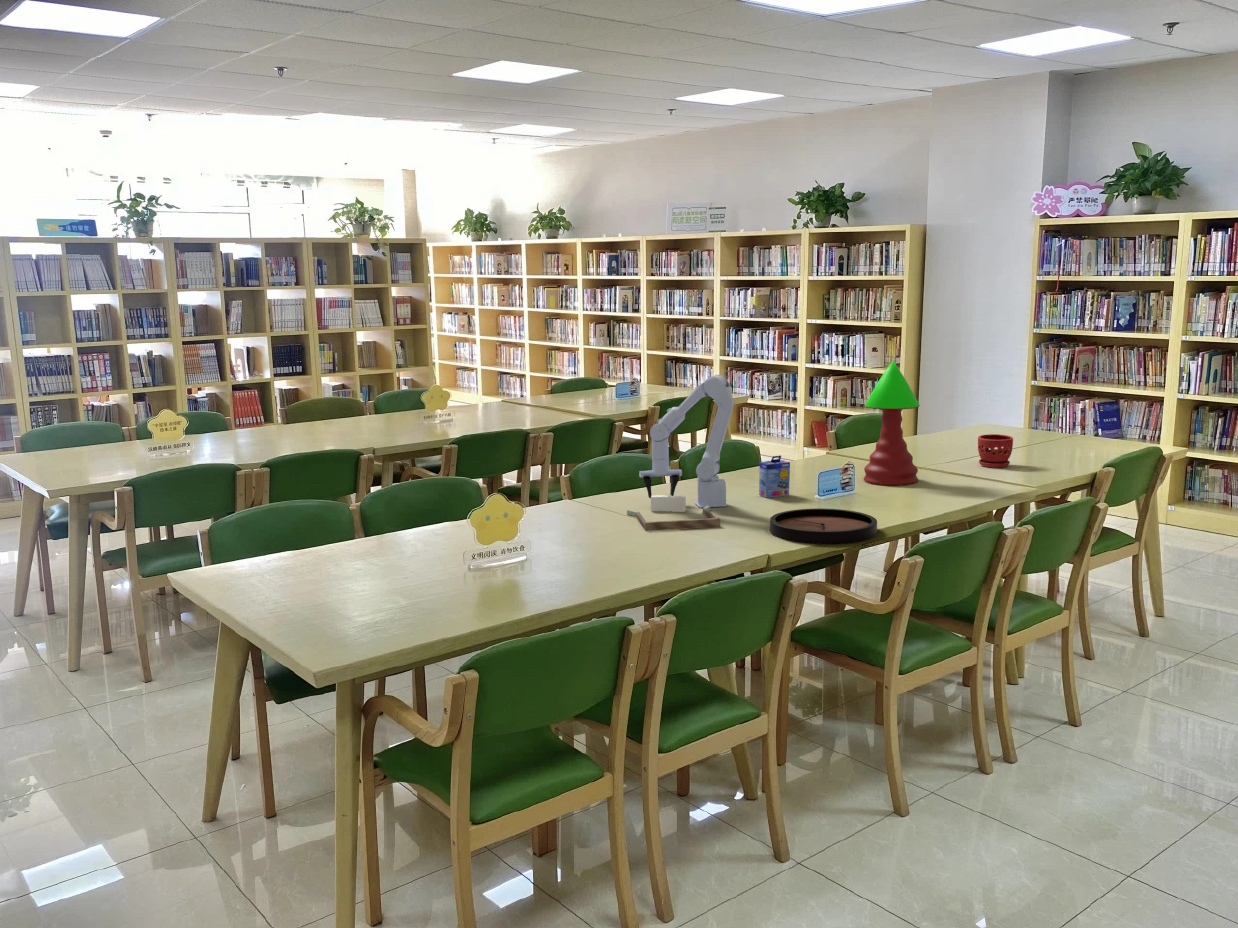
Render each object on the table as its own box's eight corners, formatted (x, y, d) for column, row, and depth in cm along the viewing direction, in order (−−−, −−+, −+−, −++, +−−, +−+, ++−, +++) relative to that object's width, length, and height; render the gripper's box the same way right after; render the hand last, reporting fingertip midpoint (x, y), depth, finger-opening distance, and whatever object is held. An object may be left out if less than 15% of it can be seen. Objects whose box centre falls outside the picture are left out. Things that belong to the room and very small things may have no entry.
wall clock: (899, 524, 292) (804, 536, 281) (898, 538, 293) (804, 550, 282) (839, 504, 321) (751, 514, 310) (838, 517, 322) (751, 527, 311)
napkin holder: (641, 512, 336) (641, 495, 336) (663, 506, 345) (663, 490, 344) (676, 518, 326) (675, 501, 325) (697, 512, 334) (697, 495, 334)
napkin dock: (710, 509, 335) (710, 502, 335) (727, 526, 311) (727, 518, 311) (626, 514, 332) (626, 506, 331) (637, 531, 308) (637, 523, 308)
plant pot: (969, 465, 404) (970, 435, 402) (994, 462, 410) (995, 433, 408) (994, 470, 393) (995, 439, 391) (1019, 467, 398) (1020, 437, 396)
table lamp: (924, 485, 366) (927, 361, 359) (869, 486, 367) (871, 362, 359) (910, 475, 386) (913, 357, 378) (858, 476, 386) (860, 359, 379)
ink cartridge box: (766, 498, 351) (766, 457, 349) (758, 495, 356) (758, 455, 354) (790, 495, 355) (790, 455, 353) (781, 492, 360) (781, 452, 358)
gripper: (679, 455, 350) (679, 493, 352) (637, 457, 348) (638, 495, 350) (683, 458, 343) (683, 497, 345) (640, 460, 341) (641, 499, 343)
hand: (661, 497), depth 347 cm, fingers open, 7 cm apart
